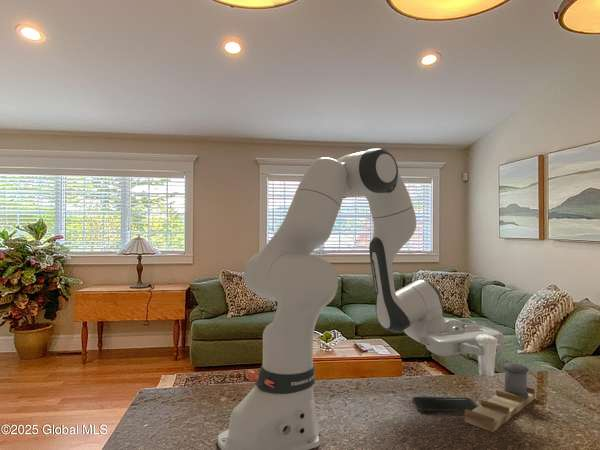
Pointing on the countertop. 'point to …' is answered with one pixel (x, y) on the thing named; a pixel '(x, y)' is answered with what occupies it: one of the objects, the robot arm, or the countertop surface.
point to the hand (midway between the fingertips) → (490, 350)
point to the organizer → (498, 409)
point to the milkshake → (487, 354)
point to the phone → (443, 405)
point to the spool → (516, 379)
